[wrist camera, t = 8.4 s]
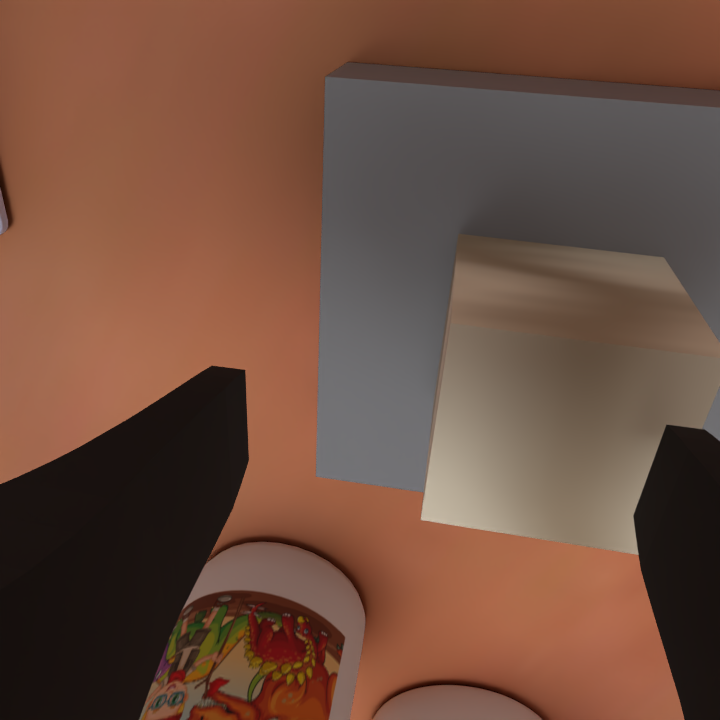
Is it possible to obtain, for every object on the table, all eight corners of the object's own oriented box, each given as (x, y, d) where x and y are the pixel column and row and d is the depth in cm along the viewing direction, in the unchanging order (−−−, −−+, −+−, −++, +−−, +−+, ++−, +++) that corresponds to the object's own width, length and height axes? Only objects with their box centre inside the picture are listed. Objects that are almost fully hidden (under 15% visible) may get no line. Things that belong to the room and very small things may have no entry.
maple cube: (434, 398, 19) (420, 519, 15) (458, 233, 17) (450, 323, 12) (610, 423, 19) (649, 556, 14) (663, 257, 16) (730, 359, 12)
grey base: (333, 422, 24) (316, 476, 21) (347, 62, 18) (325, 76, 15) (677, 470, 23) (702, 533, 20) (821, 98, 16) (883, 120, 14)
